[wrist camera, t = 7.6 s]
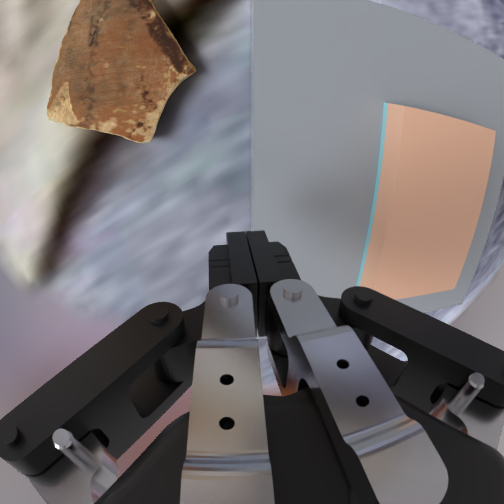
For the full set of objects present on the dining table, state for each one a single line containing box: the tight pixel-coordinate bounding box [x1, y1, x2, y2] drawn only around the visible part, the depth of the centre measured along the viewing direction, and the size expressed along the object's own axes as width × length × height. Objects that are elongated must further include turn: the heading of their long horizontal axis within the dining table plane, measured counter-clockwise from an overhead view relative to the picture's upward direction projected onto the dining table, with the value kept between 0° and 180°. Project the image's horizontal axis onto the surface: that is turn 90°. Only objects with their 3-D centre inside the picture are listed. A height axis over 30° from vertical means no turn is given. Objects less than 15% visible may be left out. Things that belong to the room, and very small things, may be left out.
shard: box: [47, 0, 196, 143], centre depth 11 cm, size 11×8×2 cm
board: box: [251, 0, 504, 339], centre depth 17 cm, size 22×20×1 cm
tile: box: [356, 102, 496, 300], centre depth 16 cm, size 12×2×8 cm
